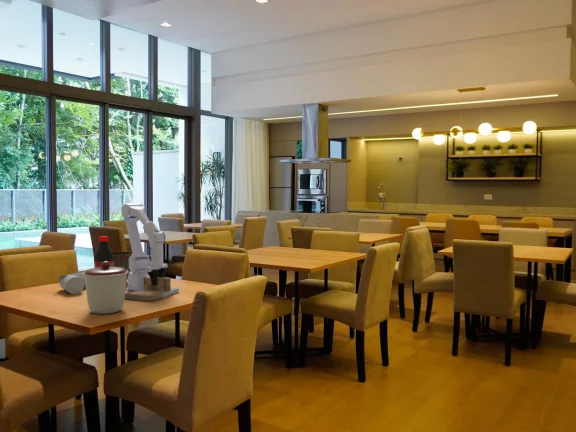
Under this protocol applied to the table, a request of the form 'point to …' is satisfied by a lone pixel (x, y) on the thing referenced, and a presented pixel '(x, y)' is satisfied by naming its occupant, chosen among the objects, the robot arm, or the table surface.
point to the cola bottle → (103, 253)
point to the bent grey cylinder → (72, 282)
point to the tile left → (138, 292)
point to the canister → (105, 288)
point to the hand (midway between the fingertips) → (157, 284)
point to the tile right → (150, 293)
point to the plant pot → (122, 260)
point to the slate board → (165, 293)
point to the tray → (143, 297)
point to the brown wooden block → (157, 284)
